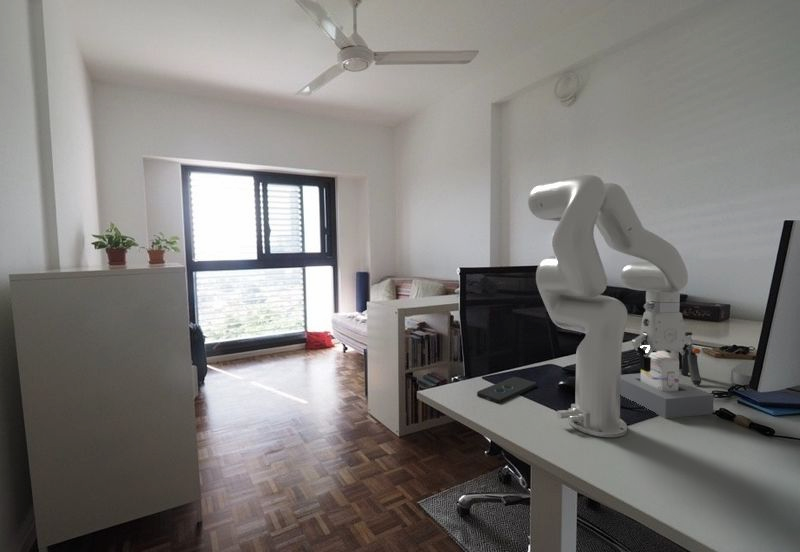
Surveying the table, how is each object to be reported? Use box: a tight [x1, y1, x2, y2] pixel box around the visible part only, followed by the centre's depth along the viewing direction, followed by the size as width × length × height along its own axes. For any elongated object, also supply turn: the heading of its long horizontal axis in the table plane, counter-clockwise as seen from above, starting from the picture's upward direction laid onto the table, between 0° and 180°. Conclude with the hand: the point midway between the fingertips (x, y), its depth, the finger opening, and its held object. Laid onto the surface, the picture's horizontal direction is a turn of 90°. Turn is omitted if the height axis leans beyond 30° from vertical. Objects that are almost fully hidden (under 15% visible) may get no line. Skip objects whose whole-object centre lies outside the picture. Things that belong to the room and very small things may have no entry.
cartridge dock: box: [620, 372, 715, 419], centre depth 103 cm, size 14×18×5 cm
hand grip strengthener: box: [679, 331, 702, 386], centre depth 119 cm, size 2×12×15 cm, turn 159°
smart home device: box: [476, 376, 537, 405], centre depth 113 cm, size 8×2×20 cm
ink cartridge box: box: [640, 349, 680, 392], centre depth 103 cm, size 9×5×15 cm, turn 3°
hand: (660, 369), depth 102 cm, fingers open, 9 cm apart
